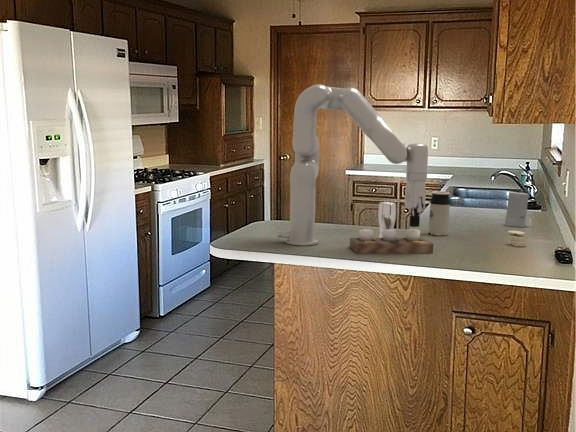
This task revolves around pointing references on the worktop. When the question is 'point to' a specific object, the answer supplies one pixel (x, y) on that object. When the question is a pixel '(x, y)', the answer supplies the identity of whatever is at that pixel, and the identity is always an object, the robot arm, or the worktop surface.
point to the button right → (412, 235)
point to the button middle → (389, 235)
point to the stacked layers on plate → (516, 238)
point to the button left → (366, 235)
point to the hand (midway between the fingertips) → (414, 226)
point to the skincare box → (516, 209)
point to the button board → (391, 246)
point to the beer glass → (386, 216)
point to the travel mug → (439, 213)
